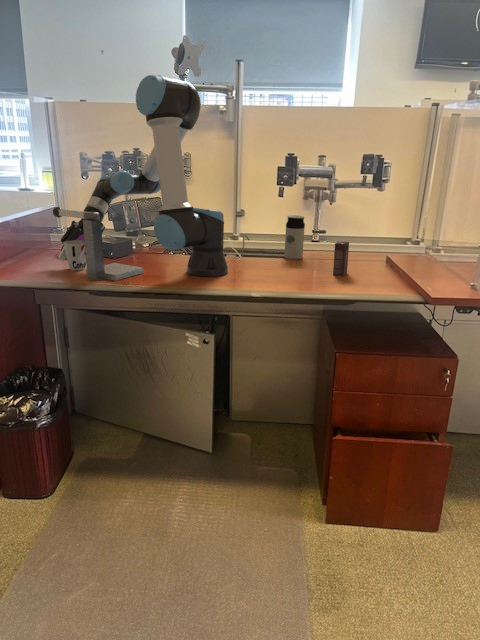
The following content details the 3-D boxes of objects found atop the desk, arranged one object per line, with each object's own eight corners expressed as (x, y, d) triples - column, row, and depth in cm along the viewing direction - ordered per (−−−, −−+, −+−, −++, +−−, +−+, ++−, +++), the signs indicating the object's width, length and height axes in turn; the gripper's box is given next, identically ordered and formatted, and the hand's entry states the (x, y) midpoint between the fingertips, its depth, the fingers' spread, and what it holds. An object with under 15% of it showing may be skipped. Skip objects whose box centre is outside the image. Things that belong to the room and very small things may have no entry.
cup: (71, 272, 166) (68, 244, 163) (63, 268, 172) (60, 241, 169) (92, 269, 171) (90, 242, 168) (84, 265, 177) (81, 239, 174)
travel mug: (293, 255, 207) (295, 214, 202) (306, 258, 202) (309, 216, 196) (280, 257, 203) (282, 215, 197) (293, 260, 197) (296, 217, 191)
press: (143, 273, 168) (141, 217, 162) (107, 283, 153) (102, 222, 147) (115, 268, 175) (111, 214, 168) (77, 277, 160) (72, 218, 153)
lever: (103, 221, 153) (102, 210, 152) (91, 222, 149) (90, 211, 147) (61, 216, 162) (60, 205, 161) (49, 217, 158) (48, 206, 157)
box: (335, 271, 178) (338, 240, 174) (347, 273, 176) (350, 241, 172) (331, 275, 173) (334, 242, 169) (343, 276, 171) (346, 244, 167)
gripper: (122, 219, 177) (100, 269, 168) (77, 216, 183) (53, 263, 174) (113, 206, 170) (89, 257, 161) (67, 203, 177) (41, 252, 168)
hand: (70, 260), depth 168 cm, fingers closed on cup, 8 cm apart
